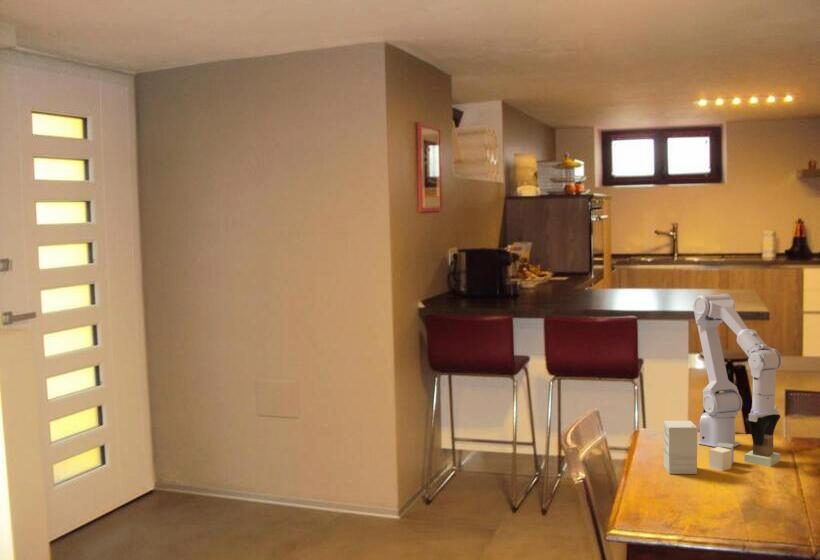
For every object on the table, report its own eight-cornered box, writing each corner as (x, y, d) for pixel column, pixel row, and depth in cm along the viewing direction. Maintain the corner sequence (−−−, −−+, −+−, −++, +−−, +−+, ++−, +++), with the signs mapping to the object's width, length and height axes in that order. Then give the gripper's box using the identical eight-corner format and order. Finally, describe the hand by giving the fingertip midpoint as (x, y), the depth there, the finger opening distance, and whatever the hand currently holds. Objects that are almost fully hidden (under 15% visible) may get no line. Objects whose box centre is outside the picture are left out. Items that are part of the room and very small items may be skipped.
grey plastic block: (715, 464, 234) (716, 445, 233) (718, 460, 237) (718, 442, 237) (731, 466, 232) (731, 447, 231) (733, 462, 235) (733, 444, 235)
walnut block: (752, 454, 235) (753, 436, 234) (758, 450, 238) (758, 433, 237) (767, 457, 232) (768, 439, 232) (773, 453, 235) (773, 435, 235)
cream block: (709, 467, 231) (709, 449, 230) (718, 464, 233) (718, 446, 232) (722, 471, 227) (722, 452, 227) (731, 468, 230) (731, 450, 229)
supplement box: (690, 466, 232) (691, 420, 231) (697, 474, 224) (698, 427, 223) (662, 465, 233) (663, 419, 231) (668, 474, 225) (668, 426, 224)
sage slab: (744, 463, 235) (744, 454, 235) (754, 457, 240) (754, 448, 240) (770, 468, 230) (770, 459, 230) (780, 462, 235) (780, 453, 235)
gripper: (768, 400, 226) (766, 451, 227) (789, 391, 236) (787, 439, 237) (741, 396, 230) (740, 446, 232) (763, 387, 241) (762, 435, 242)
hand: (762, 442), depth 235 cm, fingers open, 6 cm apart
